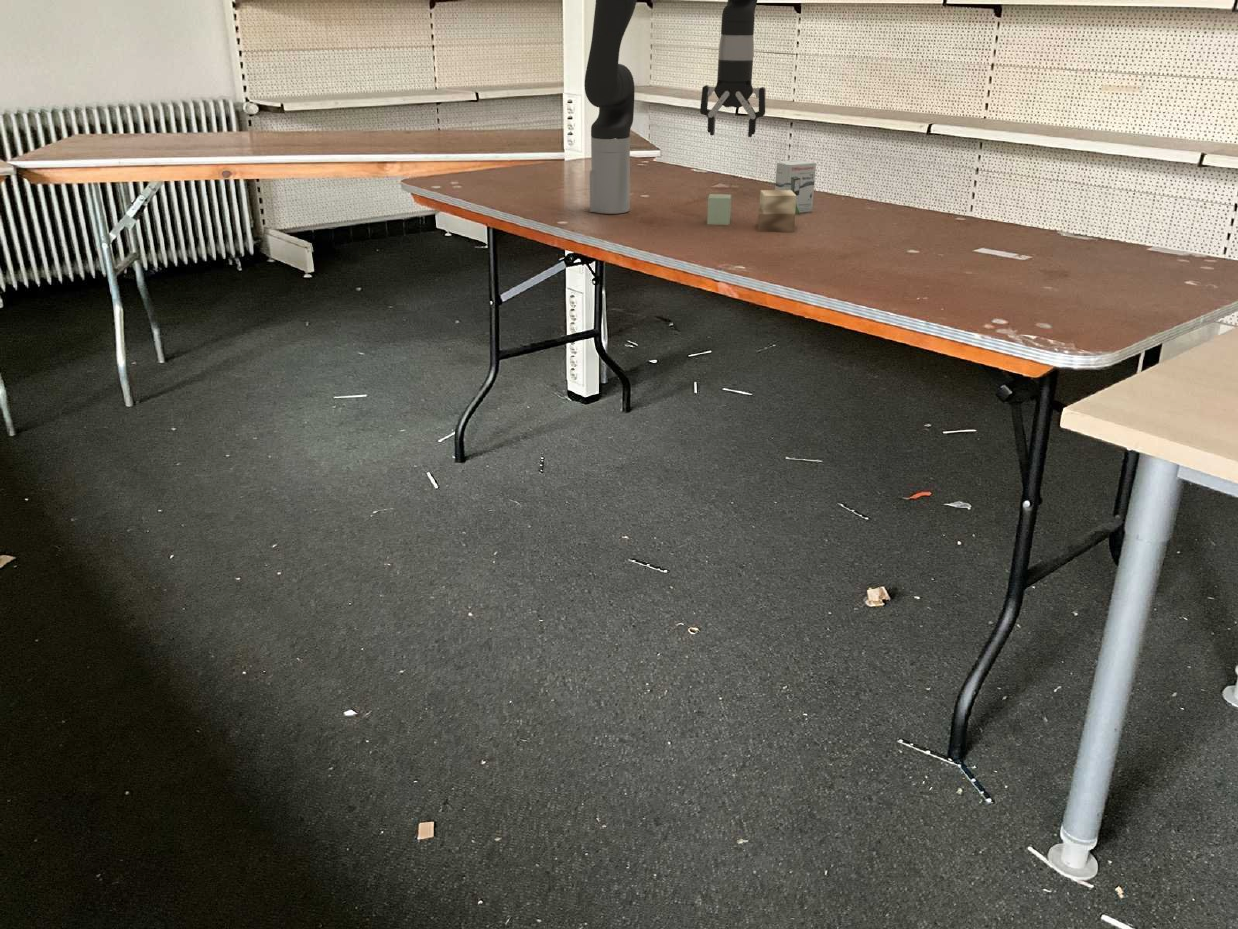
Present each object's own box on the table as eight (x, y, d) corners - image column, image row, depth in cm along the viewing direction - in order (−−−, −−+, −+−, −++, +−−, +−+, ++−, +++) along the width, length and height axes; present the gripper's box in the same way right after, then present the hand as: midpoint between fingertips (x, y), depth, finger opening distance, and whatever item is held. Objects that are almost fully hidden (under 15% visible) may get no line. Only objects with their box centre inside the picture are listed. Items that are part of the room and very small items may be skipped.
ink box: (784, 215, 233) (788, 163, 228) (772, 211, 237) (775, 161, 232) (813, 211, 237) (817, 161, 232) (800, 208, 241) (803, 158, 236)
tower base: (757, 231, 217) (758, 213, 215) (758, 224, 224) (759, 207, 222) (793, 233, 216) (795, 214, 214) (793, 226, 223) (795, 208, 221)
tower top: (763, 213, 215) (764, 195, 213) (759, 208, 221) (760, 190, 219) (795, 214, 215) (796, 195, 213) (790, 208, 221) (791, 190, 219)
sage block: (707, 224, 223) (708, 197, 221) (708, 220, 228) (709, 193, 225) (728, 225, 222) (730, 198, 220) (730, 220, 227) (731, 194, 224)
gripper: (700, 57, 210) (697, 136, 217) (766, 59, 207) (761, 139, 214) (706, 56, 216) (702, 132, 223) (770, 57, 213) (764, 135, 220)
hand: (731, 135), depth 218 cm, fingers open, 8 cm apart
